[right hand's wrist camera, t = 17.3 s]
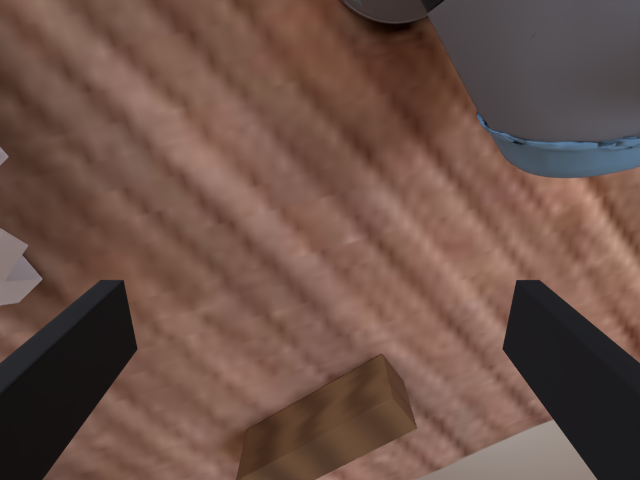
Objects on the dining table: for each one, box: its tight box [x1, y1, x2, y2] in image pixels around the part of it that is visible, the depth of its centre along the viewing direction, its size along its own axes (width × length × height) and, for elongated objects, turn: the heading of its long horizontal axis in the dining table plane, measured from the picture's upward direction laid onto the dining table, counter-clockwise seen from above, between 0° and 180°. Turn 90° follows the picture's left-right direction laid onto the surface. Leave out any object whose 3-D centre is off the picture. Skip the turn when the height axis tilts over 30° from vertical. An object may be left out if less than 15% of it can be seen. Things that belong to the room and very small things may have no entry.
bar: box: [236, 354, 417, 480], centre depth 50 cm, size 23×6×8 cm, turn 125°
